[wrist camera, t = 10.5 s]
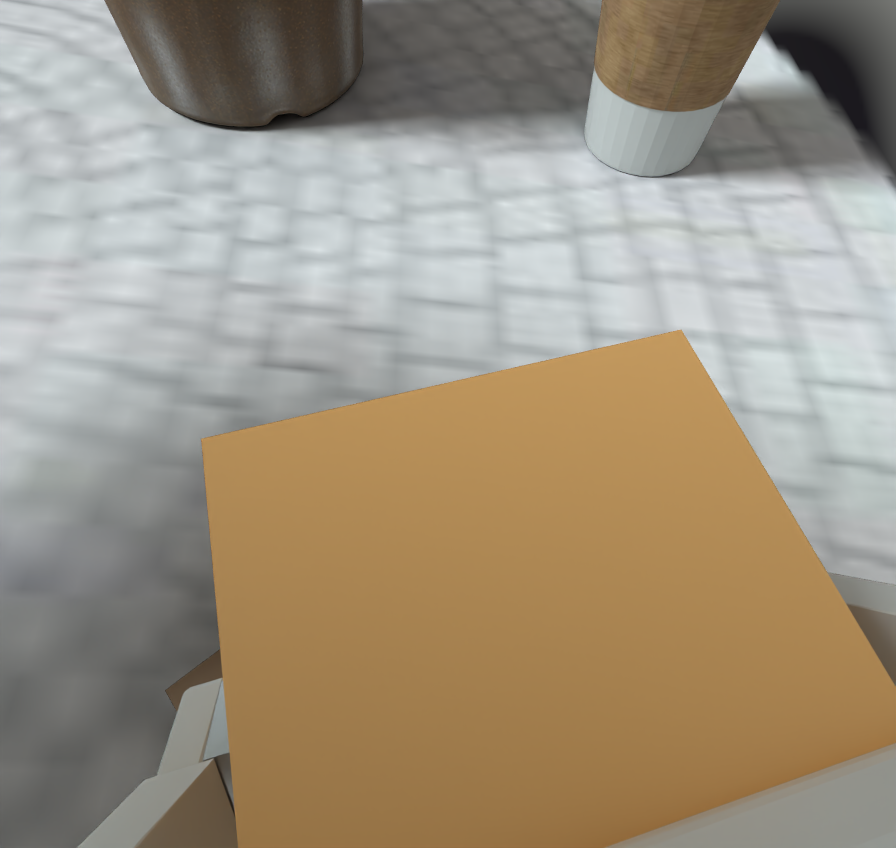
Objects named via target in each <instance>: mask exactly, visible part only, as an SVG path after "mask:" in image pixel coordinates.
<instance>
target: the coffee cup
mask: <svg viewBox="0 0 896 848" xmlns="http://www.w3.org/2000/svg"><path fill="white" fill-rule="evenodd" d="M779 1H780V0H602V6H601V14H600V21H599V29H598V36H597V44H596V51H595V59H594V72H593V78H592V84H591V90H590V97H589V103H588V109H587V116H586V122H585V130H584V135H585V141H586V143H587V146H588V148H589V149H590V151H591V152H592V153H593V154H594V155H595V156H596V157H597V158H598V159H599V160H600V161H602V162H603V163H605V164H606V165H608V166H610V167H612V168H614V169H616V170H618V171H622V172H625V173H628V174H633V175H638V176H650V177H653V176H664V175H668V174H672V173H675V172H677V171H680V170H682V169H683V168H685V167H686V166H688V165H689V164H690V163H691V161H692V160H693V159H694V158H695V156H696V154H697V152H698V150H699V149H700V147H701V145H702V143H703V141H704V139H705V137H706V135H707V133H708V131H709V129H710V127H711V125H712V123H713V122H714V120H715V118H716V116H717V114H718V112H719V110H720V108H721V106H722V104H723V102H724V100H725V98H726V96H727V95H728V94H729V93H730V91H731V89H732V87H733V85H734V83H735V82H736V80H737V78H738V76H739V74H740V73H741V71H742V69H743V67H744V65H745V63H746V62H747V60H748V58H749V56H750V54H751V52H752V51H753V49H754V47H755V45H756V43H757V41H758V40H759V38H760V36H761V34H762V32H763V30H764V29H765V27H766V25H767V23H768V21H769V19H770V18H771V16H772V14H773V12H774V10H775V8H776V7H777V5H778V3H779Z"/></svg>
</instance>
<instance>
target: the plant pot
mask: <svg viewBox="0 0 896 848" xmlns="http://www.w3.org/2000/svg"><path fill="white" fill-rule="evenodd" d="M105 2H106V4H107V6H108V8H109V10H110V12H111V14H112V16H113V18H114V20H115V22H116V24H117V26H118V28H119V30H120V32H121V34H122V37H123V39H124V41H125V43H126V45H127V47H128V49H129V51H130V53H131V55H132V57H133V59H134V61H135V63H136V65H137V67H138V69H139V72H140V74H141V76H142V78H143V79H144V81H145V83H146V85H147V86H148V88H149V90H150V91H151V93H152V94H153V95H154V96H155V97H156V98H157V99H158V100H159V101H160V102H161V103H163V104H164V105H165V106H167V107H169V108H170V109H172V110H174V111H176V112H178V113H180V114H182V115H185V116H187V117H190V118H193V119H196V120H200V121H203V122H208V123H213V124H219V125H227V126H248V127H250V126H263V125H266V124H268V123H269V122H270V121H271V120H272V119H273V118H274V117H276V116H277V115H280V114H286V113H294V114H298V115H300V116H303V117H305V116H308V115H310V114H312V113H315V112H317V111H319V110H321V109H323V108H324V107H326V106H328V105H329V104H331V103H333V102H334V101H335V100H336V99H338V98H339V97H340V96H341V95H342V94H343V93H345V92H346V91H347V90H348V89H349V87H350V86H351V85H352V84H353V83H354V81H355V79H356V78H357V76H358V74H359V72H360V69H361V66H362V62H363V37H362V0H105Z"/></svg>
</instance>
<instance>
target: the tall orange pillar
mask: <svg viewBox="0 0 896 848" xmlns="http://www.w3.org/2000/svg"><path fill="white" fill-rule="evenodd" d="M201 442H202V453H203V464H204V476H205V487H206V498H207V509H208V520H209V531H210V542H211V553H212V564H213V575H214V586H215V597H216V608H217V619H218V630H219V642H220V653H221V664H222V675H223V686H224V697H225V708H226V719H227V730H228V741H229V752H230V763H231V774H232V785H233V796H234V808H235V819H236V830H237V841H238V848H604V847H607V846H610V845H613V844H615V843H618V842H621V841H624V840H626V839H629V838H632V837H635V836H638V835H640V834H643V833H646V832H649V831H651V830H654V829H657V828H660V827H662V826H665V825H668V824H671V823H673V822H676V821H679V820H682V819H685V818H687V817H690V816H693V815H696V814H698V813H701V812H704V811H707V810H709V809H712V808H715V807H718V806H720V805H723V804H726V803H729V802H732V801H734V800H737V799H740V798H743V797H746V796H748V795H751V794H754V793H757V792H760V791H762V790H765V789H768V788H771V787H774V786H776V785H779V784H782V783H785V782H788V781H790V780H793V779H796V778H799V777H802V776H804V775H807V774H810V773H813V772H816V771H818V770H821V769H824V768H827V767H830V766H832V765H835V764H838V763H841V762H844V761H846V760H849V759H852V758H855V757H857V756H860V755H863V754H866V753H869V752H871V751H874V750H877V749H880V748H883V747H885V746H888V745H891V744H894V743H896V686H895V685H894V683H893V681H892V680H891V678H890V676H889V675H888V673H887V671H886V670H885V668H884V666H883V665H882V663H881V661H880V660H879V658H878V656H877V655H876V653H875V651H874V650H873V648H872V646H871V645H870V643H869V641H868V640H867V638H866V636H865V635H864V633H863V631H862V630H861V628H860V626H859V625H858V623H857V621H856V620H855V618H854V616H853V615H852V613H851V611H850V610H849V608H848V606H847V605H846V603H845V601H844V600H843V598H842V596H841V595H840V593H839V591H838V590H837V588H836V586H835V585H834V583H833V581H832V580H831V578H830V576H829V575H828V573H827V571H826V570H825V568H824V566H823V565H822V563H821V561H820V560H819V558H818V556H817V555H816V553H815V551H814V550H813V548H812V546H811V545H810V543H809V541H808V540H807V538H806V536H805V535H804V533H803V531H802V530H801V528H800V526H799V525H798V523H797V521H796V520H795V518H794V516H793V515H792V513H791V511H790V510H789V508H788V506H787V505H786V503H785V501H784V500H783V498H782V496H781V495H780V493H779V491H778V490H777V488H776V486H775V485H774V483H773V481H772V480H771V478H770V476H769V475H768V473H767V471H766V470H765V468H764V466H763V465H762V463H761V461H760V460H759V458H758V457H757V455H756V453H755V452H754V450H753V448H752V447H751V445H750V443H749V442H748V440H747V438H746V437H745V435H744V433H743V432H742V430H741V428H740V427H739V425H738V423H737V422H736V420H735V418H734V417H733V415H732V413H731V412H730V410H729V408H728V407H727V405H726V403H725V402H724V400H723V398H722V397H721V395H720V393H719V392H718V390H717V388H716V387H715V385H714V383H713V382H712V380H711V378H710V377H709V375H708V373H707V372H706V370H705V368H704V367H703V365H702V363H701V362H700V360H699V358H698V357H697V355H696V353H695V352H694V350H693V348H692V347H691V345H690V343H689V342H688V340H687V338H686V337H685V335H684V333H683V332H682V330H677V331H673V332H669V333H664V334H660V335H655V336H651V337H647V338H642V339H638V340H633V341H629V342H625V343H620V344H616V345H611V346H607V347H603V348H598V349H594V350H589V351H585V352H581V353H576V354H572V355H567V356H563V357H559V358H554V359H550V360H545V361H541V362H537V363H532V364H528V365H523V366H519V367H515V368H510V369H506V370H501V371H497V372H493V373H488V374H484V375H479V376H475V377H471V378H466V379H462V380H457V381H453V382H449V383H444V384H440V385H435V386H431V387H427V388H422V389H418V390H413V391H409V392H405V393H400V394H396V395H391V396H387V397H383V398H378V399H374V400H369V401H365V402H361V403H356V404H352V405H347V406H343V407H339V408H334V409H330V410H325V411H321V412H317V413H312V414H308V415H303V416H299V417H295V418H290V419H286V420H281V421H277V422H273V423H268V424H264V425H259V426H255V427H251V428H246V429H242V430H237V431H233V432H229V433H224V434H220V435H215V436H211V437H207V438H202V439H201Z"/></svg>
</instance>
